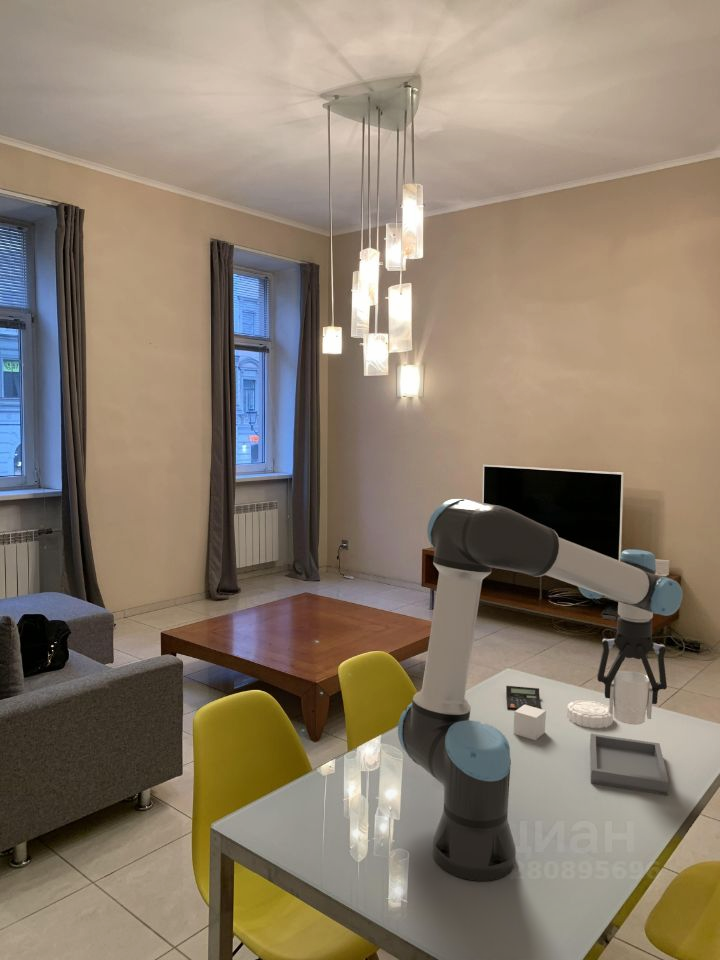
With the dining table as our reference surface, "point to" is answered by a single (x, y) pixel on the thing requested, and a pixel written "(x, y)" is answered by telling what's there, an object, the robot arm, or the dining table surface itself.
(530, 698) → the calculator
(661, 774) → the tray
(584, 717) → the mooncake
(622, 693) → the white cup
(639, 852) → the dining table surface
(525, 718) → the white cube
